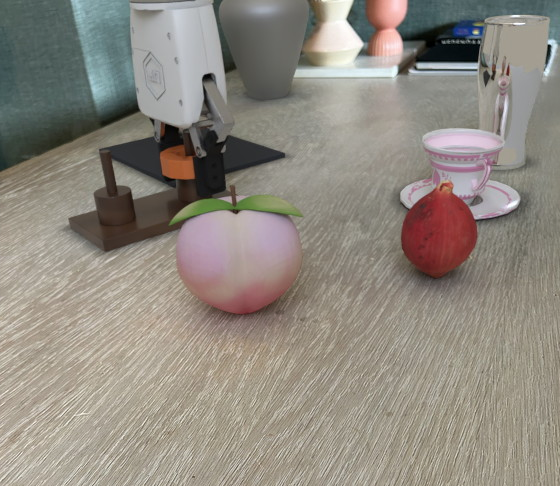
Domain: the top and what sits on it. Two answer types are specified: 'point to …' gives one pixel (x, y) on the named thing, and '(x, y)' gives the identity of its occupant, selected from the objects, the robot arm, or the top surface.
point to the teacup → (464, 171)
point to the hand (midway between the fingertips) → (193, 184)
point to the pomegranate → (438, 231)
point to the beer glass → (510, 80)
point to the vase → (265, 42)
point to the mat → (146, 151)
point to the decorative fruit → (238, 250)
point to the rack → (135, 209)
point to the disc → (177, 163)
